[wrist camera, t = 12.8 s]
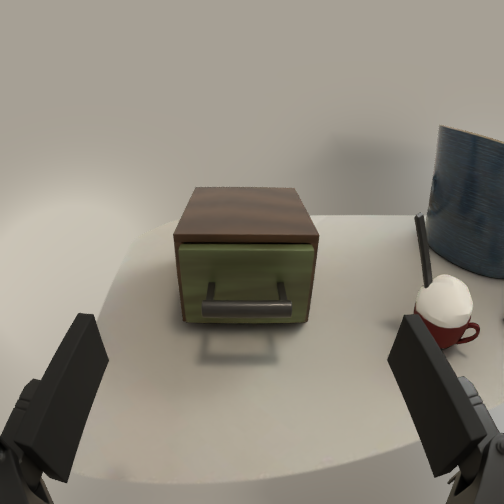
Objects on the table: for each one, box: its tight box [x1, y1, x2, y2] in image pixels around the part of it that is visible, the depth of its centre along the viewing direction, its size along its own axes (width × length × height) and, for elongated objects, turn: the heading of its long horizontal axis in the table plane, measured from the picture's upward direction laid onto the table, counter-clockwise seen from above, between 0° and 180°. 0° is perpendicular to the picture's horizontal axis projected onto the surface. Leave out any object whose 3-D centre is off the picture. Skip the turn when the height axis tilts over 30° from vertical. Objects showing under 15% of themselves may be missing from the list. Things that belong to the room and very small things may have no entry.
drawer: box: [179, 242, 314, 323], centre depth 33 cm, size 18×11×8 cm, turn 2°
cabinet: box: [173, 187, 319, 322], centre depth 36 cm, size 15×13×10 cm
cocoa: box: [414, 213, 480, 349], centre depth 27 cm, size 10×6×12 cm, turn 20°
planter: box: [425, 125, 504, 278], centre depth 44 cm, size 22×22×20 cm
